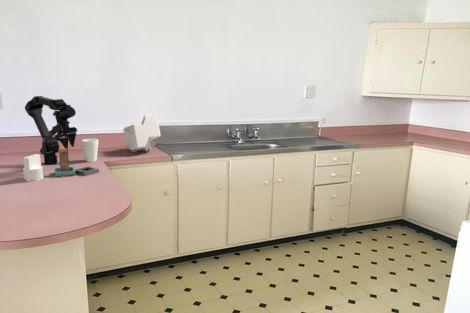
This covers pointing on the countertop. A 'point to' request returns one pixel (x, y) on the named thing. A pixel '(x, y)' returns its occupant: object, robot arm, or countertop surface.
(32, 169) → the cylinder with rectangular tab
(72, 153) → the countertop surface
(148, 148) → the white notched angular block
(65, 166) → the pin
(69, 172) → the tray
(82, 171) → the grey square flat frame
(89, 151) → the foam cup
